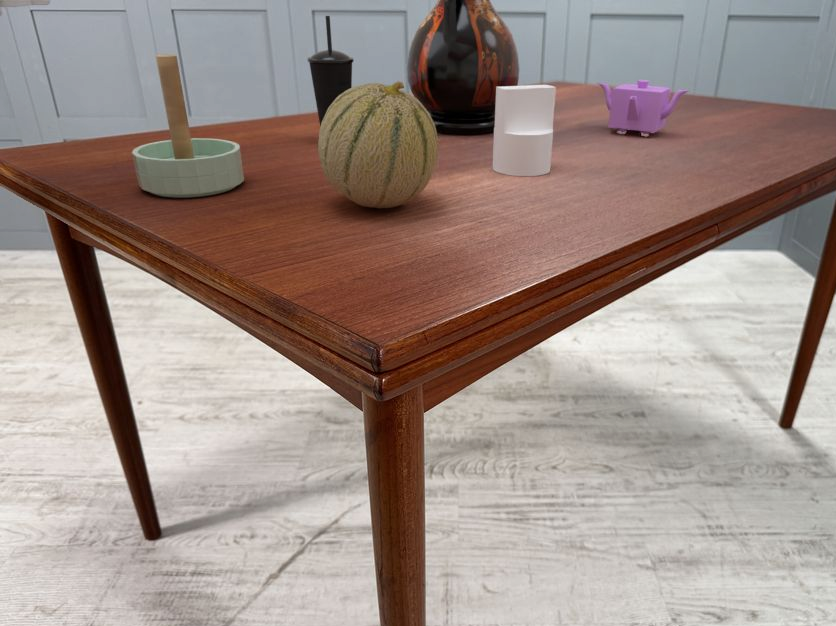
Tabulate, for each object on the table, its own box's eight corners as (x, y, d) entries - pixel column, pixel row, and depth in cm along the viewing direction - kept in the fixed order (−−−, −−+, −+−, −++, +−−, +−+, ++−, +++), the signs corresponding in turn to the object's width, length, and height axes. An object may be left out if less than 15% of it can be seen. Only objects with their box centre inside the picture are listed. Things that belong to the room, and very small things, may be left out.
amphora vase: (428, 115, 144) (427, -34, 130) (525, 122, 139) (535, -33, 126) (391, 133, 126) (386, -38, 112) (502, 142, 121) (511, -36, 107)
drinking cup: (336, 135, 123) (328, 14, 114) (366, 141, 119) (360, 16, 110) (305, 141, 118) (293, 15, 108) (336, 148, 114) (327, 17, 104)
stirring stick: (179, 187, 88) (154, 56, 81) (180, 183, 90) (156, 54, 83) (198, 186, 89) (176, 56, 81) (198, 182, 91) (177, 54, 83)
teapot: (580, 133, 130) (586, 80, 125) (600, 123, 140) (606, 73, 135) (674, 144, 123) (683, 88, 118) (687, 133, 133) (697, 80, 128)
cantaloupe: (329, 189, 91) (319, 71, 84) (436, 189, 92) (436, 73, 85) (315, 223, 78) (303, 88, 71) (440, 223, 79) (440, 89, 72)
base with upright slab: (509, 178, 99) (514, 92, 93) (482, 164, 106) (485, 84, 100) (561, 173, 102) (568, 90, 96) (531, 160, 109) (537, 82, 103)
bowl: (135, 202, 84) (126, 162, 82) (145, 176, 95) (138, 140, 93) (246, 195, 88) (240, 157, 85) (243, 171, 99) (238, 136, 96)
